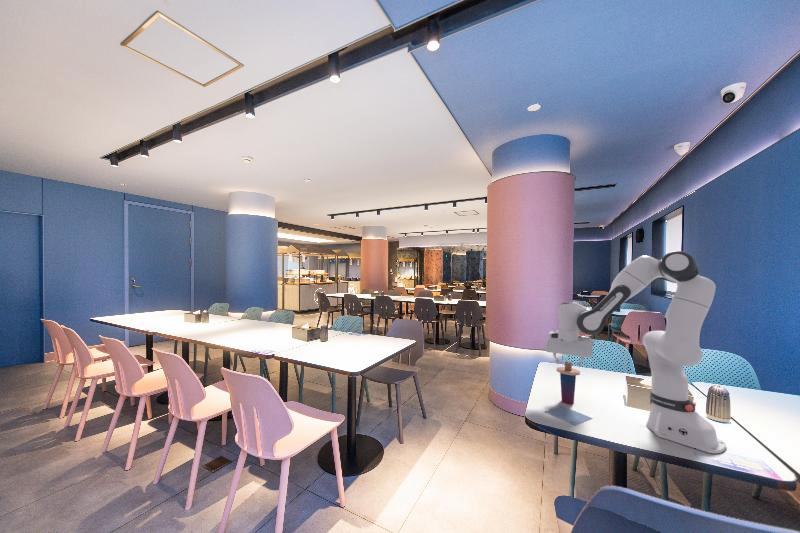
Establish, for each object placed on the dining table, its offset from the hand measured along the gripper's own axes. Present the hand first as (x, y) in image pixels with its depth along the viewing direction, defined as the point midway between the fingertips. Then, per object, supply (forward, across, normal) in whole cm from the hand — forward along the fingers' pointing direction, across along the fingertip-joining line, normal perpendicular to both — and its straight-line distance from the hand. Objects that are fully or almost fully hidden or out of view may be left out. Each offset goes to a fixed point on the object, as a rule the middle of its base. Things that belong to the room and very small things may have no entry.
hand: (568, 363), depth 147 cm
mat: (+19, 0, +15) cm, 24 cm away
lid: (+4, 0, 0) cm, 4 cm away
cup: (+19, 0, 0) cm, 19 cm away
